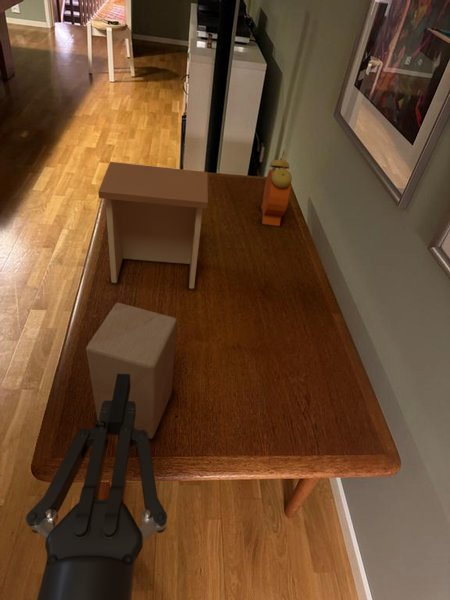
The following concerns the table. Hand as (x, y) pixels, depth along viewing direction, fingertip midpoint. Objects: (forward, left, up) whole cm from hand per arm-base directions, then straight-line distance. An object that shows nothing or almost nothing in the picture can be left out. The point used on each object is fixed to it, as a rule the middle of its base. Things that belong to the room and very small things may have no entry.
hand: (124, 380), depth 49 cm
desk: (0, +47, -22) cm, 52 cm away
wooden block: (0, +10, -22) cm, 24 cm away
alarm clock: (+33, +80, -22) cm, 89 cm away
